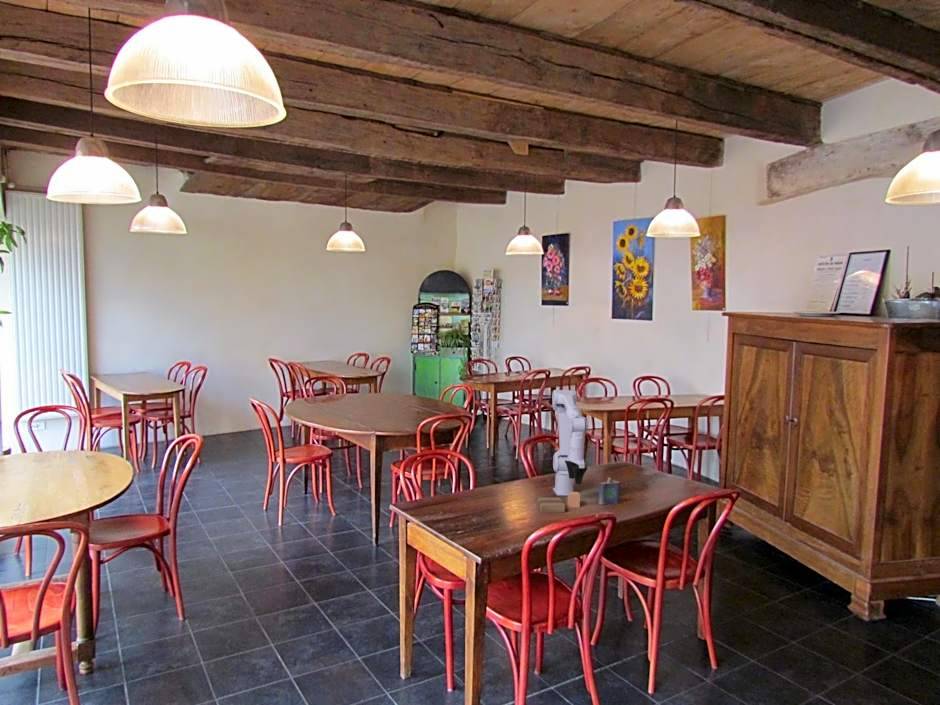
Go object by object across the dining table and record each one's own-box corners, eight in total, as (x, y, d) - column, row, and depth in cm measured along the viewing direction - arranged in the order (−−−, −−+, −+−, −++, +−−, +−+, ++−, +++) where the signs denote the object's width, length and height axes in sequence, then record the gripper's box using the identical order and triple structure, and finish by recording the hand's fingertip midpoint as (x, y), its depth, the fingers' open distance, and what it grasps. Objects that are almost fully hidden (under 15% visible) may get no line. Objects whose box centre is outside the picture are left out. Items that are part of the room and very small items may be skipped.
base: (537, 504, 258) (537, 497, 257) (559, 504, 258) (559, 497, 258) (541, 512, 249) (541, 504, 248) (564, 512, 249) (564, 504, 249)
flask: (600, 505, 259) (601, 479, 258) (596, 503, 261) (597, 477, 260) (620, 504, 262) (621, 478, 261) (616, 501, 264) (617, 476, 263)
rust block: (567, 503, 260) (567, 491, 260) (577, 503, 260) (577, 491, 260) (569, 507, 256) (570, 494, 256) (579, 507, 256) (580, 494, 256)
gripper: (561, 443, 261) (559, 476, 263) (572, 452, 247) (571, 486, 248) (577, 443, 263) (576, 475, 264) (590, 452, 248) (588, 486, 250)
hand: (575, 481), depth 256 cm, fingers open, 7 cm apart
